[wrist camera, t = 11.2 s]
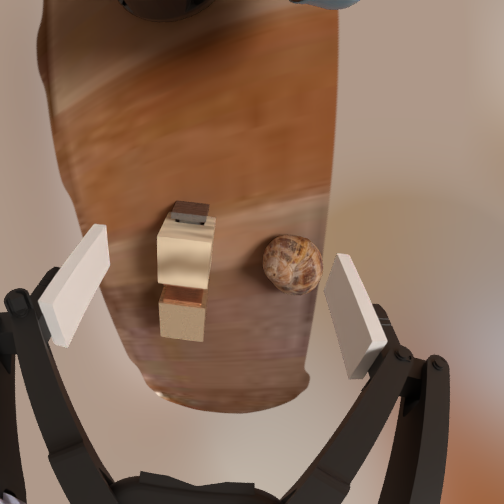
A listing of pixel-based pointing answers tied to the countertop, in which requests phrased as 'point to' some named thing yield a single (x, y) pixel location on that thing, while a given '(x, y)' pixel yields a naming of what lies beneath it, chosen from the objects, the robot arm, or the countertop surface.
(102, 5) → the countertop surface
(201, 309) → the rail
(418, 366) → the robot arm
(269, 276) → the seashell
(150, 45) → the countertop surface
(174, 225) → the slotted tan cube
